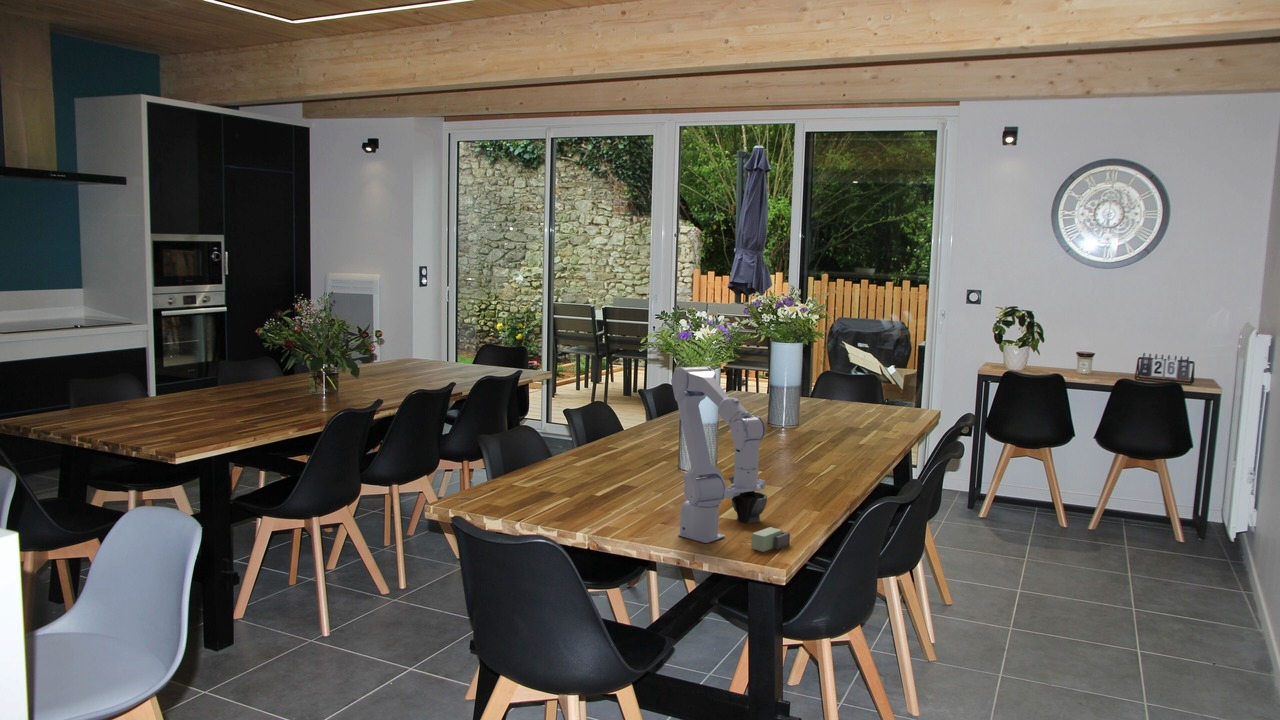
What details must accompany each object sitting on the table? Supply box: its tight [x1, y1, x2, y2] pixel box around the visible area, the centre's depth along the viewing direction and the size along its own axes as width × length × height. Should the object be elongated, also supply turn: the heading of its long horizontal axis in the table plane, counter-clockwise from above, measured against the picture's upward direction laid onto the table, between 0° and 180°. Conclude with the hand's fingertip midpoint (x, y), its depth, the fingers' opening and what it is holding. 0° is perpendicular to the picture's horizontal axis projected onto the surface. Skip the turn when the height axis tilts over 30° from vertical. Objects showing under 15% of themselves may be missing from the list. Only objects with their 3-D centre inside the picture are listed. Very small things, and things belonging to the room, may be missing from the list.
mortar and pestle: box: [728, 474, 768, 524], centre depth 258 cm, size 11×9×12 cm
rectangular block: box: [751, 526, 783, 553], centre depth 235 cm, size 8×4×4 cm, turn 138°
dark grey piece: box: [756, 527, 791, 550], centre depth 237 cm, size 7×6×3 cm
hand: (743, 522), depth 226 cm, fingers closed
